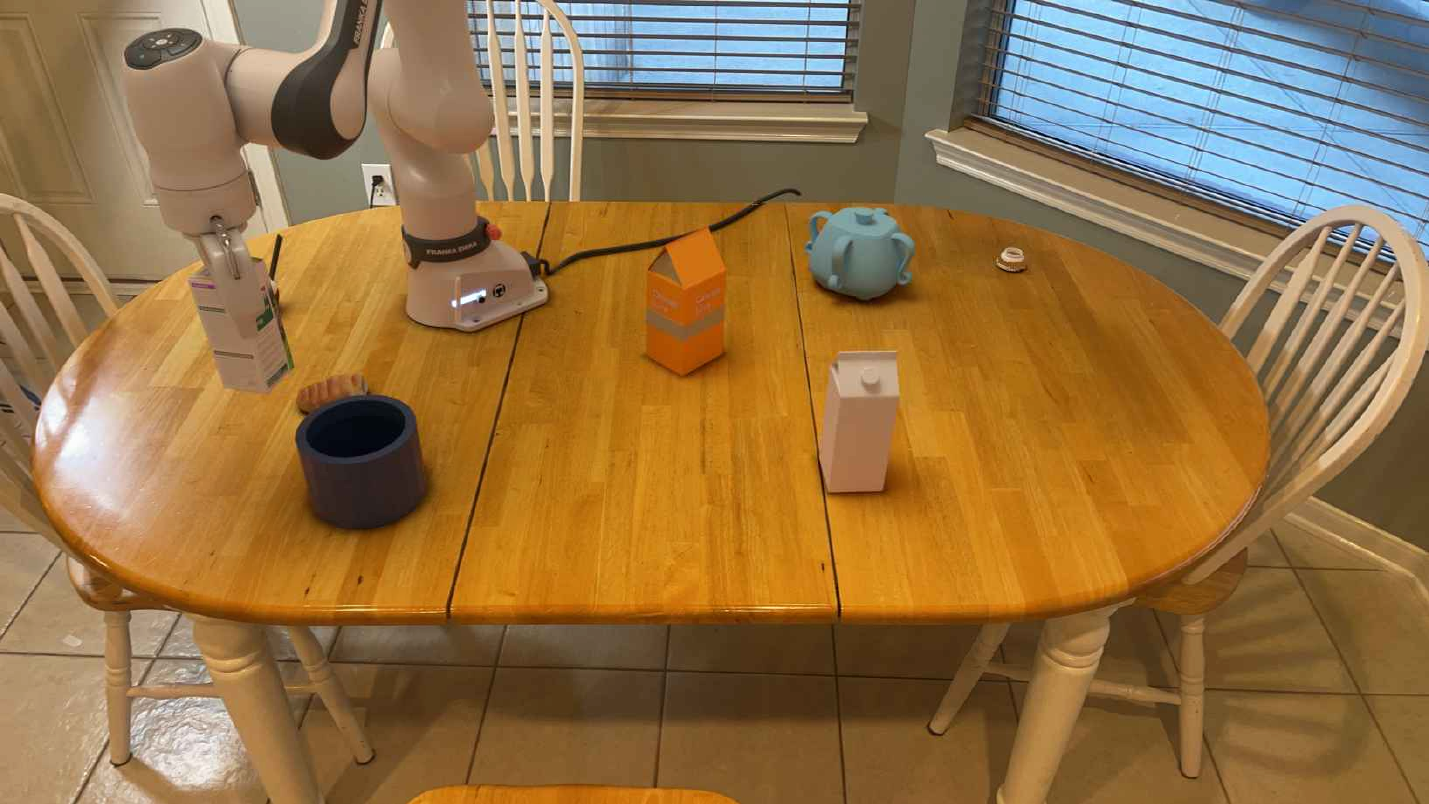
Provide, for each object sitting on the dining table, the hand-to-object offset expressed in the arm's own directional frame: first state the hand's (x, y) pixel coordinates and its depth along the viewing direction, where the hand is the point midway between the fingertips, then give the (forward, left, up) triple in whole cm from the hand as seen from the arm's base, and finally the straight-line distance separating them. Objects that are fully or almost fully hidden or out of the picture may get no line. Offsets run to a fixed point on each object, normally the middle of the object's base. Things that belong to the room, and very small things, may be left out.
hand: (240, 316), depth 112 cm
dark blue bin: (-8, +6, -25) cm, 27 cm away
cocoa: (-7, -45, -25) cm, 52 cm away
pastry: (-10, -15, -25) cm, 31 cm away
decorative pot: (-95, -7, -25) cm, 99 cm away
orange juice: (-58, -2, -25) cm, 64 cm away
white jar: (-124, +2, -25) cm, 126 cm away
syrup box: (0, 0, -9) cm, 9 cm away
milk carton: (-62, +33, -25) cm, 75 cm away
